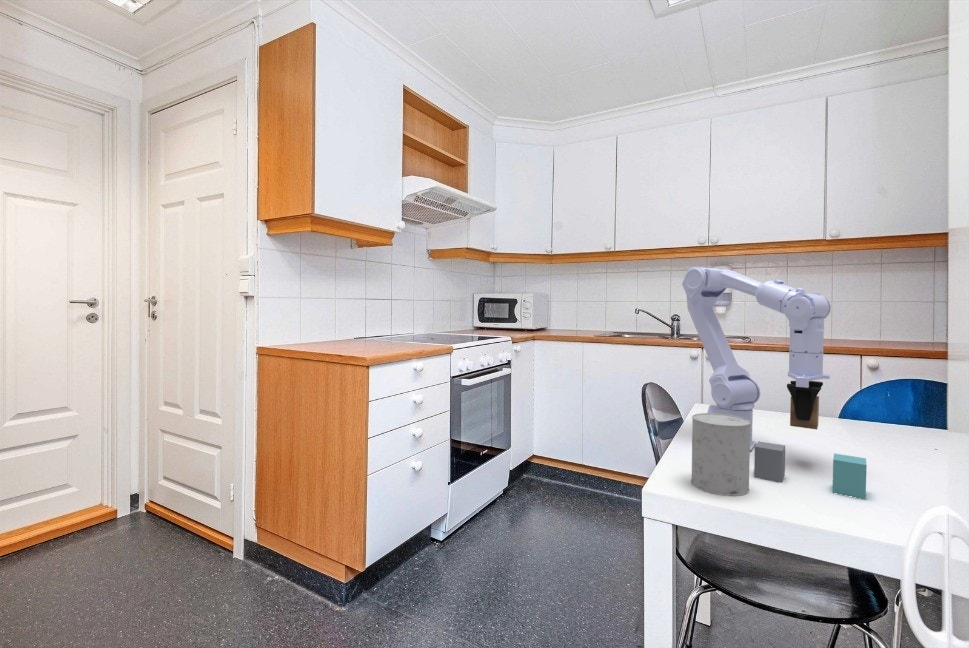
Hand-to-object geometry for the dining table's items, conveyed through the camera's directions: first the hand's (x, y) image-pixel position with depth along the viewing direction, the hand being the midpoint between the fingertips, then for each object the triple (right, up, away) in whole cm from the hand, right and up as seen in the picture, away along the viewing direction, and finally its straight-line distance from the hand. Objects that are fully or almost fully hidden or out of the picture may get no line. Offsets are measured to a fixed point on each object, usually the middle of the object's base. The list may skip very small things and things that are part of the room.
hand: (804, 417), depth 95 cm
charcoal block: (-11, -10, -6) cm, 16 cm away
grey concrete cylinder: (-23, -11, -11) cm, 27 cm away
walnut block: (0, -2, 0) cm, 2 cm away
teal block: (-2, -10, -14) cm, 17 cm away
